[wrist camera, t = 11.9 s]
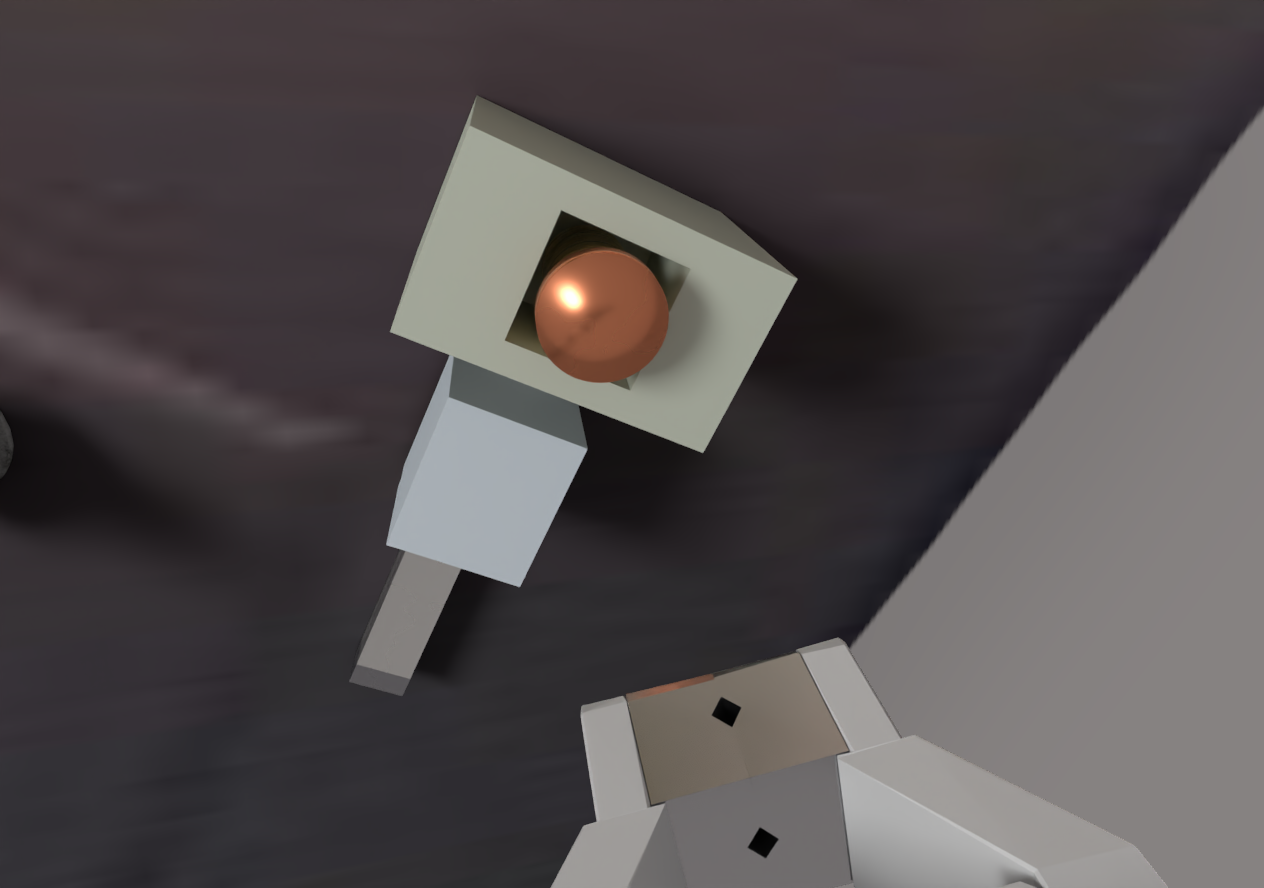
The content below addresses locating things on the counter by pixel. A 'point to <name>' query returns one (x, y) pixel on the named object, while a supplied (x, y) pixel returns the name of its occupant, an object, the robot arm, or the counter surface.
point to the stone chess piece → (5, 446)
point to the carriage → (486, 473)
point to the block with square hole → (646, 228)
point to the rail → (402, 622)
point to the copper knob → (598, 307)
